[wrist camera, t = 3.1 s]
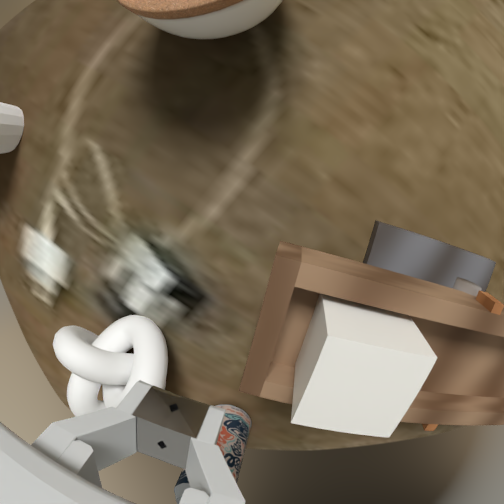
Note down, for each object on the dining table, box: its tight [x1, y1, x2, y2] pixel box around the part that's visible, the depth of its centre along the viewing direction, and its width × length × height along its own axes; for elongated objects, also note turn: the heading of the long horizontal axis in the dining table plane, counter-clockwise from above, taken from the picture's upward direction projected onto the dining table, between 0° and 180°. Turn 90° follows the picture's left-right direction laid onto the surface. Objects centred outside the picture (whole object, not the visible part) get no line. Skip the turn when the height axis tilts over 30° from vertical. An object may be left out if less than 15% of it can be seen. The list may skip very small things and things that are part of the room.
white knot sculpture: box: [53, 315, 168, 417], centre depth 25 cm, size 11×12×9 cm
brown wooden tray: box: [239, 221, 504, 431], centre depth 19 cm, size 25×12×10 cm, turn 77°
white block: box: [291, 293, 437, 437], centre depth 14 cm, size 5×5×5 cm
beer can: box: [174, 405, 252, 504], centre depth 24 cm, size 5×5×12 cm
